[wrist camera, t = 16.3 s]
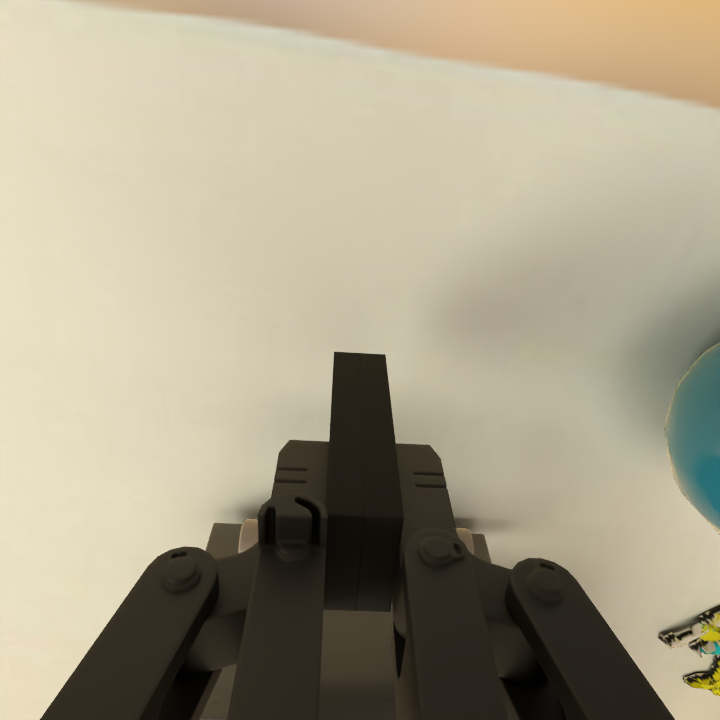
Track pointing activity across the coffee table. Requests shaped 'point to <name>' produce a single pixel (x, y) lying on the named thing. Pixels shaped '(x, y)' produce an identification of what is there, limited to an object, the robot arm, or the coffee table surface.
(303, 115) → the coffee table surface
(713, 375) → the ball
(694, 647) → the toy
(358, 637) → the drawer
